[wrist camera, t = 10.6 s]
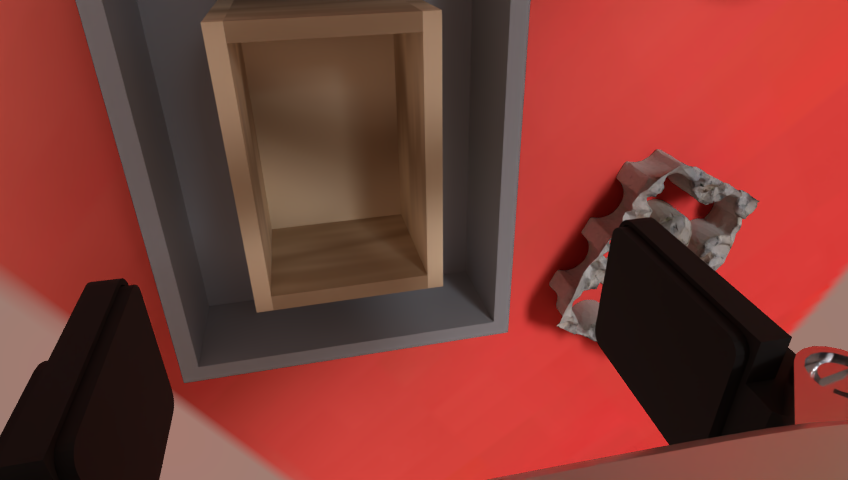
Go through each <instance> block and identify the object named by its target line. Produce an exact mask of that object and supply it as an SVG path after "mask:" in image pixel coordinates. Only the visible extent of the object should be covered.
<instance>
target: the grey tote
mask: <svg viewBox="0 0 848 480" xmlns="http://www.w3.org/2000/svg"><path fill="white" fill-rule="evenodd" d="M75 1H76V4H77V8H78V11H79V15H80V18H81V22H82V25H83V29H84V32H85V36H86V39H87V43H88V46H89V50H90V53H91V57H92V61H93V64H94V68H95V71H96V75H97V78H98V82H99V85H100V89H101V92H102V96H103V99H104V103H105V106H106V110H107V113H108V117H109V120H110V124H111V127H112V131H113V135H114V138H115V142H116V145H117V149H118V152H119V156H120V159H121V163H122V166H123V170H124V173H125V177H126V180H127V184H128V187H129V191H130V194H131V198H132V201H133V205H134V208H135V212H136V216H137V219H138V223H139V226H140V230H141V233H142V237H143V240H144V244H145V247H146V251H147V254H148V258H149V261H150V265H151V268H152V272H153V275H154V279H155V282H156V286H157V289H158V293H159V297H160V300H161V304H162V307H163V311H164V314H165V318H166V321H167V325H168V328H169V332H170V335H171V339H172V342H173V346H174V349H175V353H176V356H177V360H178V363H179V367H180V371H181V374H182V378H183V381H184V383H188V382H195V381H201V380H207V379H214V378H220V377H226V376H233V375H239V374H245V373H252V372H258V371H264V370H271V369H277V368H284V367H290V366H296V365H303V364H309V363H315V362H322V361H328V360H334V359H341V358H347V357H354V356H360V355H366V354H373V353H379V352H385V351H392V350H398V349H404V348H411V347H417V346H423V345H430V344H436V343H443V342H449V341H455V340H462V339H468V338H474V337H481V336H487V335H493V334H500V333H506V332H508V323H509V308H510V294H511V279H512V264H513V249H514V234H515V220H516V205H517V190H518V175H519V161H520V146H521V131H522V116H523V101H524V87H525V72H526V57H527V42H528V28H529V13H530V0H423V1H425V2H427V3H429V4H431V5H433V6H435V7H437V8H439V9H441V10H442V147H443V286H442V287H435V288H427V289H420V290H413V291H406V292H399V293H392V294H385V295H378V296H371V297H364V298H357V299H350V300H343V301H336V302H329V303H322V304H315V305H308V306H300V307H293V308H286V309H279V310H272V311H265V312H258V313H257V311H256V306H255V301H254V296H253V291H252V286H251V281H250V275H249V270H248V265H247V260H246V255H245V250H244V244H243V239H242V234H241V229H240V224H239V219H238V214H237V208H236V203H235V198H234V193H233V188H232V183H231V178H230V172H229V167H228V162H227V157H226V152H225V147H224V141H223V136H222V131H221V126H220V121H219V116H218V111H217V105H216V100H215V95H214V90H213V85H212V80H211V74H210V69H209V64H208V59H207V54H206V49H205V44H204V38H203V33H202V28H201V23H200V22H201V21H202V20H203V18H204V17H205V16H206V14H207V13H208V12H209V10H210V9H211V8H212V6H213V5H214V4H215V2H216V1H217V0H75Z"/></svg>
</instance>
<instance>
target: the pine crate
mask: <svg viewBox="0 0 848 480" xmlns="http://www.w3.org/2000/svg"><path fill="white" fill-rule="evenodd" d="M200 23H201V28H202V33H203V38H204V44H205V49H206V54H207V59H208V64H209V69H210V74H211V80H212V85H213V90H214V95H215V100H216V105H217V111H218V116H219V121H220V126H221V131H222V136H223V141H224V147H225V152H226V157H227V162H228V167H229V172H230V178H231V183H232V188H233V193H234V198H235V203H236V208H237V214H238V219H239V224H240V229H241V234H242V239H243V244H244V250H245V255H246V260H247V265H248V270H249V275H250V281H251V286H252V291H253V296H254V301H255V306H256V311H257V313H258V312H265V311H272V310H279V309H286V308H293V307H300V306H308V305H315V304H322V303H329V302H336V301H343V300H350V299H357V298H364V297H371V296H378V295H385V294H392V293H399V292H406V291H413V290H420V289H427V288H435V287H442V286H443V147H442V10H441V9H439V8H437V7H435V6H433V5H431V4H429V3H427V2H425V1H423V0H217V1H216V2H215V4H214V5H213V6H212V8H211V9H210V10H209V12H208V13H207V14H206V16H205V17H204V18H203V20H202V21H201V22H200Z"/></svg>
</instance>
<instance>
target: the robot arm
mask: <svg viewBox="0 0 848 480" xmlns="http://www.w3.org/2000/svg"><path fill="white" fill-rule="evenodd" d="M595 336H596V340H597V343H598V344H599V346H600V348H601V349H602V350H603V352H604V353H605V355H606V356H607V358H608V359H609V360H610V362H611V363H612V365H613V366H614V367H615V369H616V370H617V372H618V373H619V374H620V376H621V377H622V379H623V380H624V382H625V383H626V384H627V386H628V387H629V389H630V390H631V391H632V393H633V394H634V396H635V397H636V398H637V400H638V401H639V403H640V404H641V406H642V407H643V408H644V410H645V411H646V413H647V414H648V415H649V417H650V418H651V420H652V421H653V422H654V424H655V425H656V427H657V428H658V430H659V431H660V432H661V434H662V435H663V437H664V438H665V439H666V441H667V442H668V444H669V445H668V446H663V447H657V448H652V449H647V450H641V451H636V452H631V453H625V454H620V455H614V456H609V457H604V458H598V459H593V460H588V461H582V462H577V463H572V464H566V465H561V466H556V467H551V468H545V469H540V470H535V471H530V472H525V473H519V474H514V475H509V476H504V477H499V478H493V479H488V480H848V352H847V351H844V350H841V349H837V348H832V347H826V346H825V347H823V346H820V347H819V346H812V347H808V348H804V349H802V350H801V351H799V352H798V353H797V354H795V353H794V352H793V351H792V350H790V349H789V348H788V346H789V343H790V341H791V338H792V337H791V336H790V335H789V334H787V333H786V332H785V331H784V330H783V329H782V328H780V327H779V326H778V325H777V324H776V323H775V322H774V321H772V320H771V319H770V318H769V317H768V316H767V315H765V314H764V313H763V312H762V311H761V310H760V309H758V308H757V307H756V306H755V305H754V304H753V303H751V302H750V301H749V300H748V299H747V298H746V297H745V296H743V295H742V294H741V293H740V292H739V291H738V290H736V289H735V288H734V287H733V286H732V285H731V284H729V283H728V282H727V281H726V280H725V279H724V278H722V277H721V276H720V275H719V274H718V273H717V272H716V271H714V270H713V269H712V268H711V267H710V266H709V265H707V264H706V263H705V262H704V261H703V260H702V259H700V258H699V257H698V256H697V255H696V254H695V253H693V252H692V251H691V250H690V249H689V248H688V247H687V246H685V245H684V244H683V243H682V242H681V241H680V240H678V239H677V238H676V237H675V236H674V235H673V234H671V233H670V232H669V231H668V230H667V229H666V228H665V227H663V226H662V225H661V224H660V223H659V222H658V221H656V220H655V219H654V218H652V217H646V218H637V219H629V220H624V221H622V222H621V224H620V226H619V228H616V229H614V231H613V233H612V237H611V243H610V248H609V254H608V259H607V265H606V270H605V276H604V281H603V287H602V292H601V298H600V303H599V309H598V314H597V320H596V325H595ZM173 410H174V398H173V393H172V389H171V386H170V383H169V379H168V376H167V373H166V370H165V367H164V364H163V360H162V357H161V354H160V351H159V348H158V345H157V342H156V338H155V335H154V332H153V329H152V326H151V323H150V319H149V316H148V313H147V310H146V307H145V304H144V300H143V297H142V294H141V291H140V289H139V287H138V286H137V285H130V286H129V285H128V283H127V282H126V280H125V279H123V278H122V279H113V280H105V281H96V282H90V283H88V284H87V285H86V286H85V288H84V290H83V292H82V294H81V296H80V298H79V300H78V302H77V304H76V306H75V308H74V310H73V312H72V314H71V316H70V318H69V320H68V322H67V324H66V326H65V328H64V330H63V332H62V334H61V336H60V338H59V340H58V342H57V344H56V346H55V348H54V350H53V352H52V354H51V356H50V358H49V360H48V361H44V362H42V363H40V364H39V365H38V366H37V368H36V369H35V370H34V372H33V374H32V376H31V378H30V380H29V382H28V384H27V386H26V387H25V389H24V391H23V393H22V395H21V397H20V399H19V401H18V403H17V405H16V407H15V409H14V410H13V412H12V414H11V416H10V418H9V420H8V422H7V424H6V426H5V428H4V430H3V432H2V434H1V435H0V480H159V477H160V473H161V468H162V464H163V459H164V454H165V449H166V444H167V440H168V434H169V430H170V425H171V420H172V416H173Z"/></svg>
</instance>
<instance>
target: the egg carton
mask: <svg viewBox="0 0 848 480" xmlns="http://www.w3.org/2000/svg"><path fill="white" fill-rule="evenodd" d="M667 176H668V179H669V180H670V181H671V182H672V183H673V184H675V185H676V186H678V187H679V188H681V189H682V190H684V191H685V192H687V193H688V194H690V195H691V196H692V197H694V198H695V199H696V200H697V201H699V202H700V203H703V204H705V205H708V204H710V203H713V201H714V206H713V208H712V209H711V211H710V212H709V214H708V215H707V216H706V217H705V218H704V219H693V220H691V221H689V220H688V218H687V217H685V216H684V215H683V214H681V213H680V212H679V211H677V210H676V209H675V208H676V207H675V208H673V207H674V206H673V207H672V205H671V206H670V204H668V203H666V202H665V201H663V200H659V199H652V200H649V201H647V197H651V196H653V197H656V195H657V194H660V193H661V192H662V191H663V190H664V184H663V183H664V181H665V179H666V177H667ZM616 178H617V179H618V180H619V181H620V183H621V184H622V187H623V190H624V195H623V199H622V202H621V203H620V205H619V206H618V208H617V209H616V210H615V211H614V212H613V213H611V214H610V215H608V216H605V217H601V218H594V217H591V218H590V219H589V221H588V222H587V224H586V225H585V227H584V228H583V230H582V232H581V233H582V234H583V236H584V237H585V238H586V239H587V241H588V243H589V250H588V254H587V256H586V258H585V260H584V261H583V262H582V263H581V264H579V265H578V266H577V267H575V268H573V269H570V270H565V271H564V270H558V271H557V272H556V273H555V274H554V276H553V278H552V279H551V281H550V283H549V285H550V287H551V288H552V289H553V290H554V291H555V292H556V293H557V295H558V299H557V303H556V307H557V309H558V311H559V312H560V313H561V315H562V316H563V317H562V319H561V321H560V323H559V324H558V325H557V326H558V327H560V328H563V329H565V330H567V331H569V332H571V333H573V334H577V333H578V334H580V335H583V336H585V337H587V338H589V339H591V340H593V341H596V342H597V340H596V336H595V325H596V320H597V314H598V309H599V302H597V301H595V300H584V301H581V302H579V303H577V304H575V305H574V306H573V307H572V303H573V302H574V300H575V299H577V298H578V297H580V295H581V294H582V292H583V291H585V290H589V289H597V287H598V285H599V283H600V282H601V283H602V284H603V281H604V276H605V270H606V265H607V259H608V257H607V258H605V257H604V256H603V254H605V253H606V252H608V251H609V248H610V244H609V241H610V240H611V237H612V233H613V231H614V229H616V228H619V226H620V224H621V222H622V221H624V220H629V219H637V218H646V217H652V218H654V219H655V220H656V221H658V222H659V223H660V224H661V225H662V226H663V227H665V228H666V229H667V230H668V231H669V232H670V233H671V234H673V235H674V236H675V237H676V238H677V239H678V240H680V241H681V242H682V243H683V244H684V245H685V246H687V247H688V248H689V249H690V250H691V251H692V252H693V253H695V254H696V255H697V256H698V257H699V258H700V259H702V260H703V261H704V262H705V263H706V264H707V265H709V266H710V267H711V268H712V269H713V270H714V271H716V270H717V269H718V268H719V267H720V266H721V265H722V264H723V263H724V261H725V259H726V257H727V255H728V253H729V251H730V249H731V247H732V244H733V242H734V239H735V235H736V233H737V232H738V231H739V229H740V227H741V224H742V219H746V217H747V216H748V215H749V214H751V213H752V212H753V211H754V210H755V208H756V207H757V202H760V201H757V200H756V199H755V198H753V197H752V196H750V195H749V194H748V193H746V192H744V191H742V190H736V189H735V188H733V187H732V186H731V185H729V184H727V183H723V182H721V181H720V180H718V179H716V178H714V177H712V176H711V175H709V174H707V173H705V172H704V171H703V170H701V169H699V168H697V167H691V166H688V165H686V164H684V163H682V162H680V161H678V160H676V159H675V158H673V157H672V156H671V155H669V154H667V153H665V152H663V151H662V150H658V149H657V150H656V151H654V152H653V153H652V154H651V155H650V156H649V157H647V158H646V159H644V160H642V161H639V162H628V161H627V162H625V163H624V165H623V166H622V168H621V170H620V171H619V173H618V175H617V177H616Z"/></svg>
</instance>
